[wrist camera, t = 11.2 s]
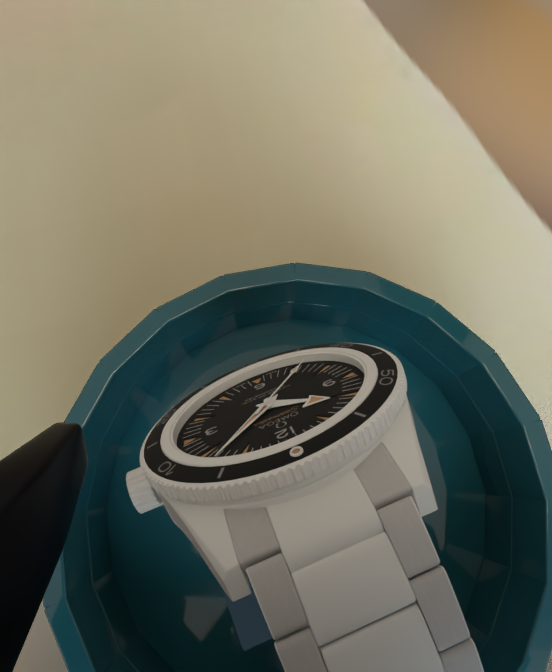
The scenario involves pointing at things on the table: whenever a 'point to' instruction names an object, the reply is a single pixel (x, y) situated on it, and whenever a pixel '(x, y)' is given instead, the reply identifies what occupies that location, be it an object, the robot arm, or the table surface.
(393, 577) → the watch
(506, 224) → the table surface
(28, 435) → the table surface
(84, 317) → the table surface
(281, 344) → the bowl
